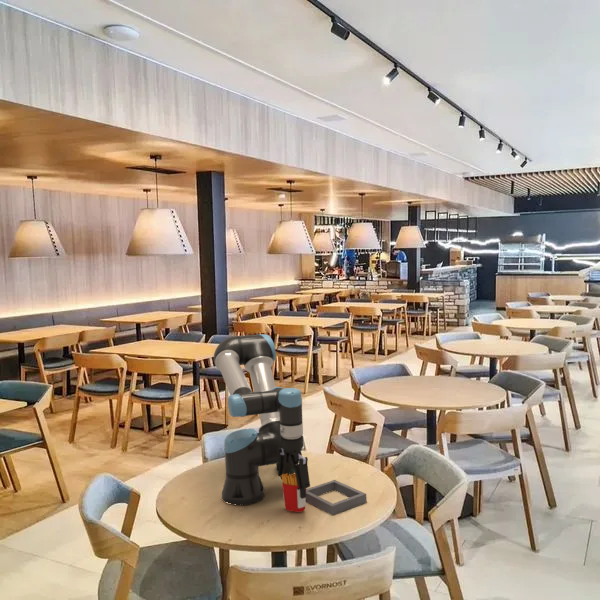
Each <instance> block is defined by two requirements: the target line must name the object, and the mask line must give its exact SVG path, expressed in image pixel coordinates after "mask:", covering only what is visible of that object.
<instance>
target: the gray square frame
mask: <svg viewBox="0 0 600 600" xmlns="http://www.w3.org/2000/svg"><path fill="white" fill-rule="evenodd" d="M332 490H333V491H335V490H336V491H335V492H337V491H338V492H337V493H339V492H340V494H342V495H344V496H347V498H344V499H342V500H339V501H336V502H334V503H333V502H330V501H329V500H327V499H324V498H322V497H321V494H322V495H324V494H323V493H325V494H327V493H326V492H328V493H330V492H333V491H332ZM329 491H330V492H329ZM317 495H319V496H317ZM306 503H308V504H310V505H312V506H314V507H315V508H318V509H320V510H321V511H323V512H325V513H327V514H329V515H331V516H335V515H337V514H340V513H342V512H344V511H348V510H350V509H353V508H356V507H359V506H361V505H364V504H366V503H367V493H365V492H363V491H361V490H358V489H356V488H355V487H351V486H350V485H347V484H345V483H343V482H340V481H338V480H337V479H334V480H333V479H332V480H331V481H327V482H324V483H321V484H318V485H314V486H312V487H311V486H310V487H308V488H306ZM363 503H364V504H363Z"/></svg>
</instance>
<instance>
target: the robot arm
mask: <svg viewBox="0 0 600 600" xmlns="http://www.w3.org/2000/svg"><path fill="white" fill-rule="evenodd" d="M276 358H277V353H276V347H275V343H274V341H273V339H272V337H271V336H270V335H268V334H262V333H261V334H260V333H257V334H251V335H239V336H238V335H237V336H235V335H234V336H230V337H227V338H225V339H223V340H222V341H221V342H220V343H219V344H218V345H217V346H216V348H215V351H214V353H213V363H214V366H215V367H216V369H217V370H218V371H220V374H221V376H222V378H223V381H224V383H225V385H226V388H227V391H228V393H229V396H228V398H227V408H228V413H229V415H230V416H231V417H233V418H235V417H237V418H239V417H242V418H243V417H249V416H255V415H259V420H260V424H261V425H260V427H259V428H258V432H257V430H256V429H254V428H242V429H238V430H235V431H232V432H230V433H229V434H228V435H226V436H225V439H224V447H223V452H224V462H225V463H224V464H225V466H224V467H225V480H224V482H223V488H222V492H221V500H222V499H223V500H224V501H225V502H228V503H231V504H236V505H235V506H248V505H252V504H256V503H259V502H260V501H262V500H263V499H264V498H265V487H264V484H263V482H262V480H261V476H260V473H259V468H260V467H263V466H270V465H276V464H278V472H277V476H278V478H279V477H280V480H281V481H282V482H281V484H282V483H283V480H282V476H281V475H282V474H286V473H288V475H291V473H290V470H291V466H292V468H294V474H295V475H296V479H297V483H298V487H299V488H297V499H298V508H302V507H305V508H306V506H307V505H306V504H307V502H306V489H308V488H311V484H310V483H311V481H310V475H309V474H310V473H309V466H308V459H309V458H308V456H303V454H302V449H303V447H304V436H303V435H304V422H303V398H302V392H301V390H300V389H299V388H294V387H285V388H284V387H281V386H276V383H275V379H274V375H273V371H272V366H273V364H274V362H275V360H276ZM242 366H244V370H245V371H246V372H247V373H249V374H250V380H251V384H252V385H251V386H252V388H253V390H252V388H251V386H250V384H249V382H248V379H247V377H246V376H245V373H244V371H243V368H242ZM295 464H298V465H295ZM281 471H282V472H281ZM301 484H302V485H301ZM282 494H283V495H282V497H283V500H284V493H283V492H282ZM263 497H264V498H263ZM223 500H222V501H223ZM224 501H223V502H224ZM225 502H224V503H225Z"/></svg>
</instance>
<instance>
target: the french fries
mask: <svg viewBox="0 0 600 600" xmlns="http://www.w3.org/2000/svg"><path fill="white" fill-rule="evenodd" d="M281 476H282V479H281V481H282V480H283V483H282V482H281V486H282V494H283V493H284V499H283V500H284V507H285V510H286V511H288V512H296V513H302V512H304V511H305V510H306V506H305V507H302V508H298V499H297V488H299V487H298V483H297V479H296V475H295V473H294V472H293V473H291V474H290V475H288V473H286V474H282V475H281ZM301 485H302V484H301Z"/></svg>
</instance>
